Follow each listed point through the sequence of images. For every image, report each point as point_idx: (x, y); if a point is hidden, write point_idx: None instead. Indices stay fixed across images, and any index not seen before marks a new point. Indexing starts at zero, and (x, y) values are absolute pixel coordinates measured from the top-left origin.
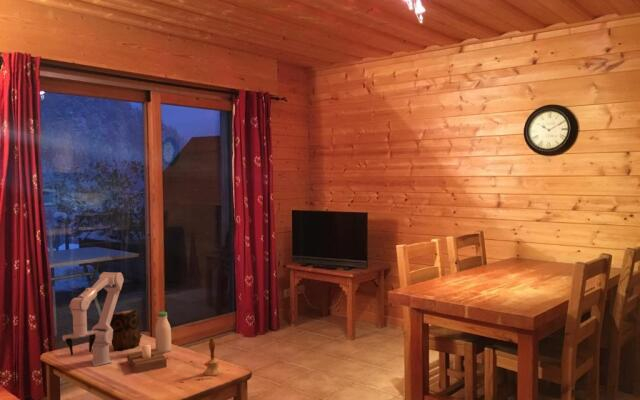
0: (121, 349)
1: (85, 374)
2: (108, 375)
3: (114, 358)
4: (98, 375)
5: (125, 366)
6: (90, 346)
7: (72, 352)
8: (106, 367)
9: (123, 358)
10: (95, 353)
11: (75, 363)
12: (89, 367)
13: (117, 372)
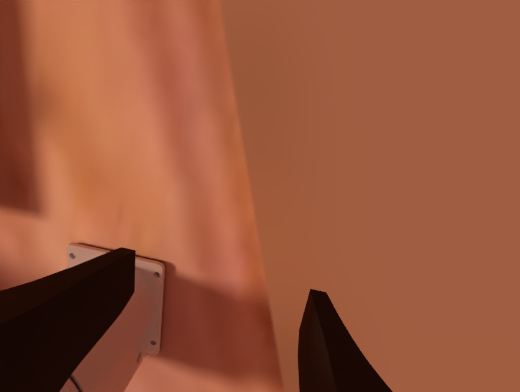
0: None
1: (241, 169)
2: (120, 28)
3: None
4: (177, 83)
5: (3, 126)
6: (76, 277)
7: (320, 306)
8: (107, 196)
9: (7, 265)
10: (109, 329)
11: (235, 371)
12: (190, 267)
13: (58, 46)
